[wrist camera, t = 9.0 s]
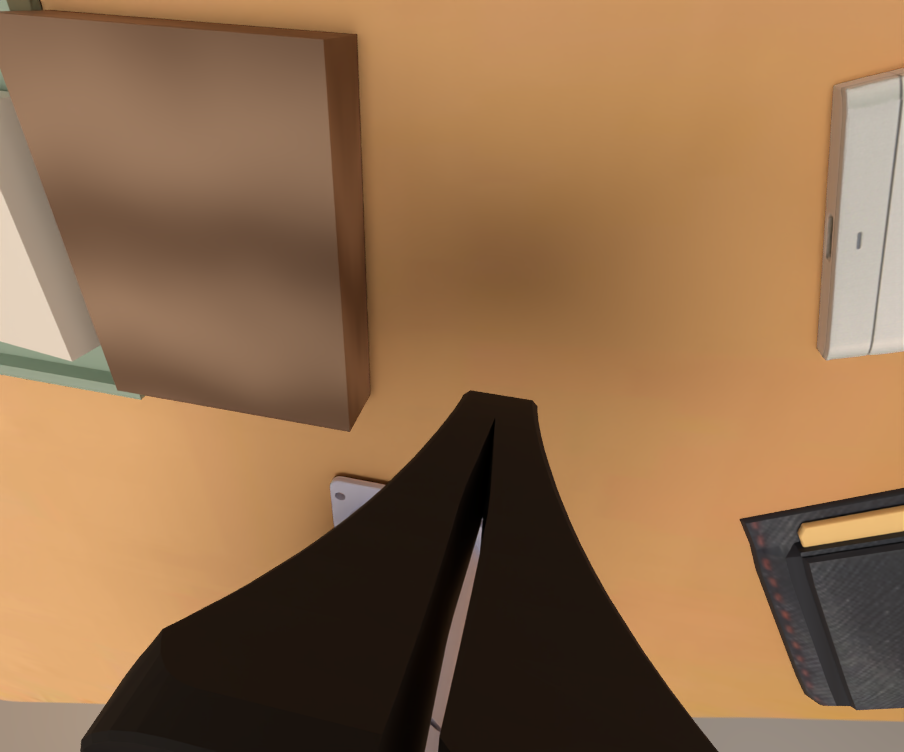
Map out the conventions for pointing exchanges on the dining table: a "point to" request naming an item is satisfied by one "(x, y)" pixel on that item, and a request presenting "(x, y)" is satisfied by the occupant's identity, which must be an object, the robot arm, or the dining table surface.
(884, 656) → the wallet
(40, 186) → the tile
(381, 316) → the dining table surface
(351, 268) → the deck
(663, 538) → the dining table surface
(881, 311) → the hard drive
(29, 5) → the tray
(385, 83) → the dining table surface
